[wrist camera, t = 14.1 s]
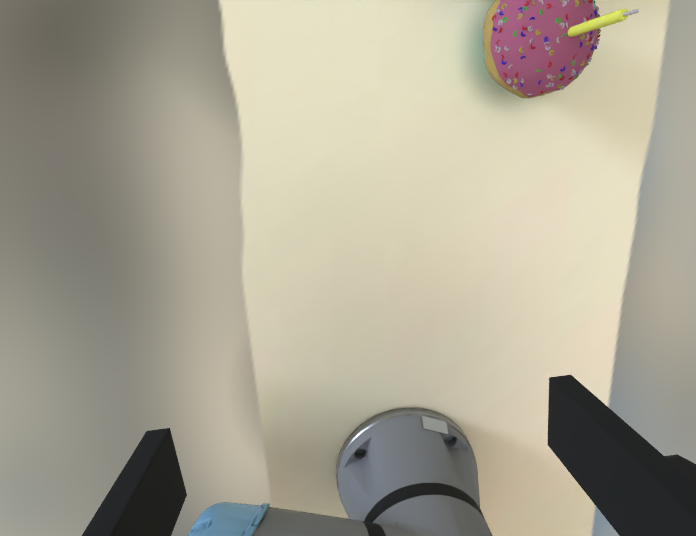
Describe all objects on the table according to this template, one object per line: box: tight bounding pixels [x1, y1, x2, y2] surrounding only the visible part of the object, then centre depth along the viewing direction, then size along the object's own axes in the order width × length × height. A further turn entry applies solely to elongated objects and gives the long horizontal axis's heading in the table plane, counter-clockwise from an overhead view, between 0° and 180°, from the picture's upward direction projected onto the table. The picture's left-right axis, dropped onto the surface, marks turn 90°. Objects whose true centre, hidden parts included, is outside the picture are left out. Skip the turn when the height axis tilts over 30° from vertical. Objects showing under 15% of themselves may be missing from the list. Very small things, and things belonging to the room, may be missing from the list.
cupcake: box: [483, 0, 638, 98], centre depth 30 cm, size 9×8×12 cm
